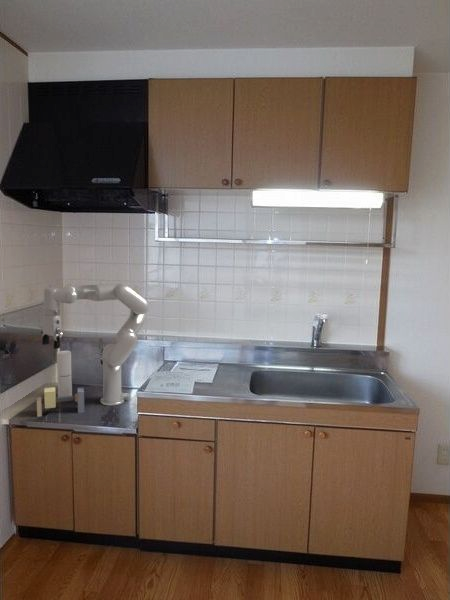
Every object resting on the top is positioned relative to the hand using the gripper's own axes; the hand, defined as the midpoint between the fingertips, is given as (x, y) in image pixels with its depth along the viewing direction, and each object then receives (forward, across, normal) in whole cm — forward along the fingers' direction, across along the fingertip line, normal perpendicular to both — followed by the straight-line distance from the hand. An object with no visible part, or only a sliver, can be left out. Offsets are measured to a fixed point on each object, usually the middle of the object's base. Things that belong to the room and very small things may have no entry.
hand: (51, 346), depth 223 cm
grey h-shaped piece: (+33, -7, -1) cm, 34 cm away
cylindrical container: (+33, +10, -16) cm, 38 cm away
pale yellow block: (+29, -4, +3) cm, 29 cm away
